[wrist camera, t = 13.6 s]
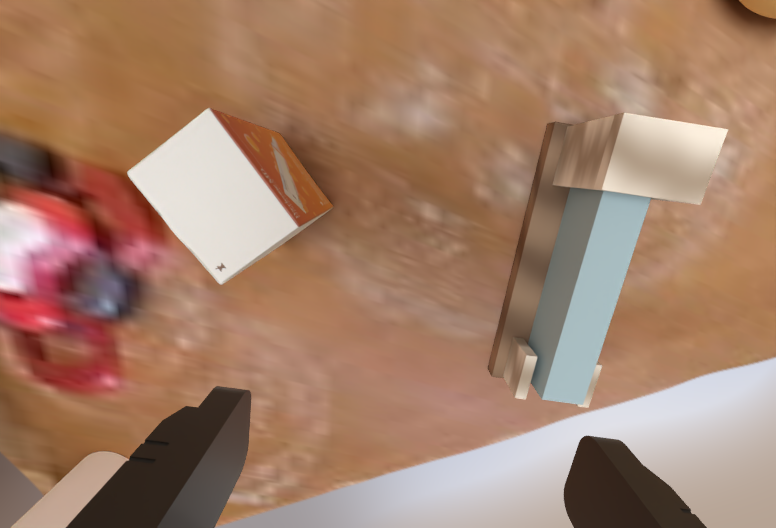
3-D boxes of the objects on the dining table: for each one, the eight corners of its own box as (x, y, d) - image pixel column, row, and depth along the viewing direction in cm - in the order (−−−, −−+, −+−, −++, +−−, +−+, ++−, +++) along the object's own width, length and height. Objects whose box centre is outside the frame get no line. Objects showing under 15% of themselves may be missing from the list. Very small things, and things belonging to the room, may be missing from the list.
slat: (577, 159, 31) (613, 158, 26) (618, 166, 31) (661, 165, 26) (521, 368, 36) (541, 399, 31) (556, 373, 36) (582, 404, 31)
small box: (335, 206, 33) (302, 229, 21) (281, 245, 34) (218, 289, 22) (279, 130, 32) (206, 103, 19) (225, 172, 32) (120, 174, 20)
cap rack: (547, 124, 31) (608, 106, 23) (647, 139, 32) (745, 128, 23) (487, 368, 37) (517, 429, 29) (572, 380, 38) (627, 443, 29)
